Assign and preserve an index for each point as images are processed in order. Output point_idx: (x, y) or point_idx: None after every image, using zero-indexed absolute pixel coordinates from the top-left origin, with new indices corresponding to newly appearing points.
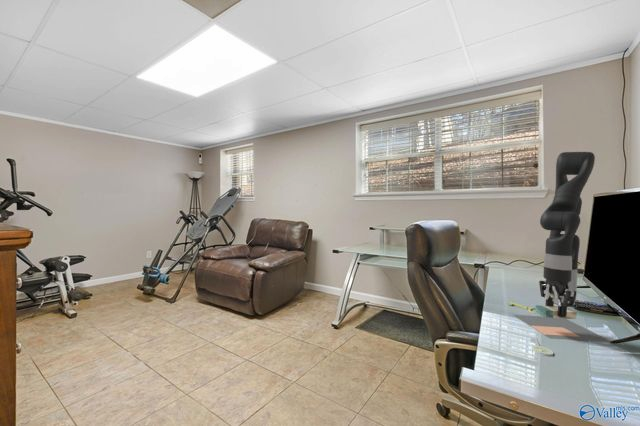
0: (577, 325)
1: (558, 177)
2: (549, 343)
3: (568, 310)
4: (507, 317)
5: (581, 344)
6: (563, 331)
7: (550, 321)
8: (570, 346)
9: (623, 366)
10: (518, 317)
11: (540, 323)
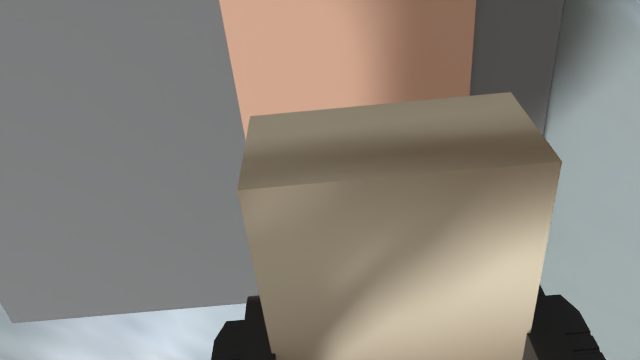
0: None
1: None
2: (576, 298)
3: (469, 247)
4: (89, 355)
5: (611, 60)
6: (354, 77)
7: (28, 33)
8: (636, 185)
9: None
10: (72, 302)
11: (166, 185)
